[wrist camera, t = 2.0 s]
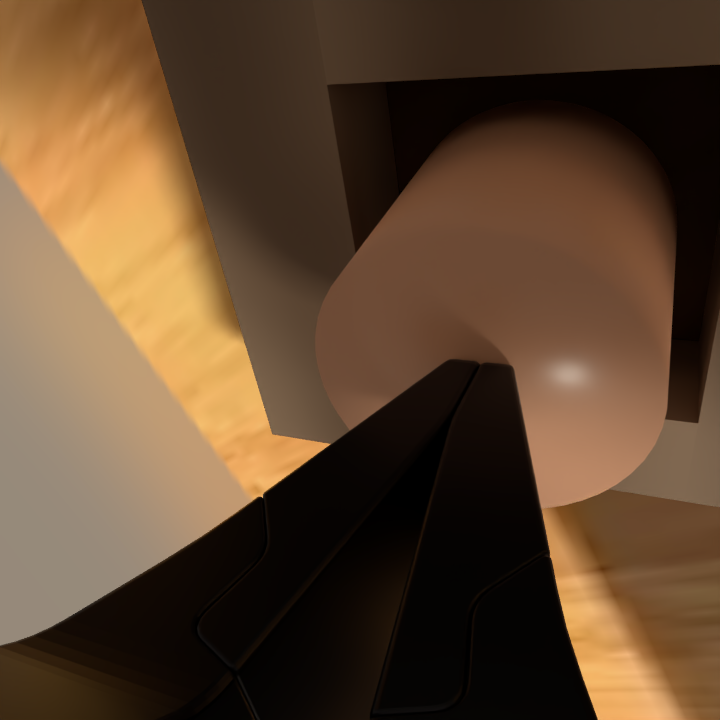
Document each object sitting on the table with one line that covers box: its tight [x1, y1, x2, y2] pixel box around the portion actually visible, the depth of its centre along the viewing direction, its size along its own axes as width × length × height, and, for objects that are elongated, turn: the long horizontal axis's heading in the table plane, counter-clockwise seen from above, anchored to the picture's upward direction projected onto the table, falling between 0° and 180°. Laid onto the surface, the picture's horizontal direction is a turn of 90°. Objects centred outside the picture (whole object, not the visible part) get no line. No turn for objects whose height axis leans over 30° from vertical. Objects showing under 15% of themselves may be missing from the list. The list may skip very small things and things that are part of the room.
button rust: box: [315, 100, 678, 508], centre depth 11 cm, size 5×5×4 cm
